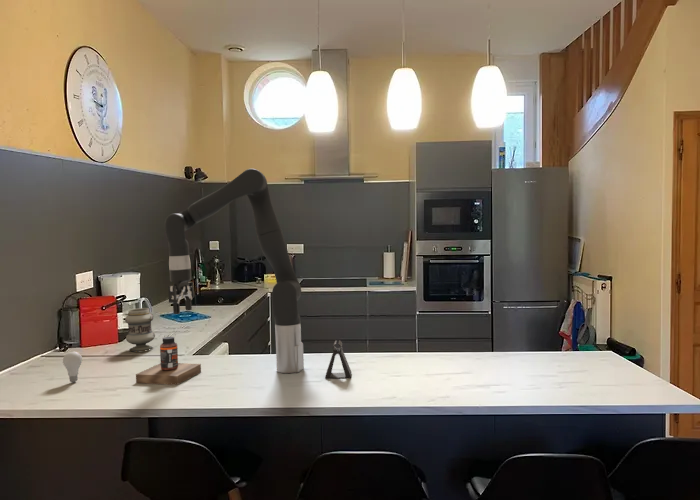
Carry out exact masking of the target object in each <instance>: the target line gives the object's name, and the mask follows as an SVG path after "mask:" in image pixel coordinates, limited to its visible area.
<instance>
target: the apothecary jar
mask: <svg viewBox="0 0 700 500" xmlns="http://www.w3.org/2000/svg"><path fill="white" fill-rule="evenodd" d="M153 320H154V315H153V314H152V313H151V312H150V309H149V308H148V307H140V308H133V309H132V308H131V309H129V310H128V313H127V315H126V316H125V317H124V321H125V323H126V324H127V326H128V327H127V328H128V334H127V335H126V336H125V340H126V342H127V343H129V344H130V345H135V346H133V347H131V348H129V350H130V351H129V350H128V351H129V352H131V351H136V352H135V353H138V352H137V351H145V350H149V349H152V348H153V349H154V347H153V345H149V344H148V343H151V342H152V341H153V340H154V339H155V338H156V334H155V332H154V331H153V330H152V329H153V328H152V322H153ZM153 349H152V350H153ZM149 351H150V350H149ZM145 352H146V351H145Z"/></svg>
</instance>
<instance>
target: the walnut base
mask: <svg viewBox="0 0 700 500" xmlns="http://www.w3.org/2000/svg"><path fill="white" fill-rule="evenodd" d="M201 365H202V364H201V363H188V362H187V363H186V362H184V363H183V362H182V363H181V362H178V368H177V369H174V370H162V369H161V362H160V363H158V364H156V365H153V366H151V367H149V368H147V369H144V370H142V371H140V372H138V373H136V374H135V383H136V384H152V385H153V384H154V385H155V384H156V385H173V386H175V385H176V386H178V385H179V384H182V383H183V382H185V381H187V380H189V379H191V378H192V377H194V376H196V375H198V374H201V373H202V366H201Z"/></svg>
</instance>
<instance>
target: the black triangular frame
mask: <svg viewBox="0 0 700 500" xmlns="http://www.w3.org/2000/svg"><path fill="white" fill-rule="evenodd" d="M337 342H338V346H339V347H336V346H337ZM331 354H332V355H331V358H330V361H329V364H328V367H327V369H326V373H325V376H324V378H325V379H326V380H331V379H332V380H333V379H339V380H340V379H351V378H352V369H351V367H350V366H349V363H348V360H347V357H346V355H345V353H344V349H343V342H342V341H341V340H340V339H339V340H335V341H334V343H333V345H332V353H331ZM336 355H338V356H339V358H340V361H341V362H340V363H341V366H342V369H343V372H332V371H333V366H334V364H335V363H334V362H335V358H336Z"/></svg>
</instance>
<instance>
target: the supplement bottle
mask: <svg viewBox="0 0 700 500" xmlns="http://www.w3.org/2000/svg"><path fill="white" fill-rule="evenodd" d="M159 353H160V355H159V357H160V363H161V369H162V370H174V369H177V368H178V363H179V357H178V355H179V354H178V353H179V352H178V344H177V342H176V341H175V336H165V337H162V343H161V344H160V346H159Z"/></svg>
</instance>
